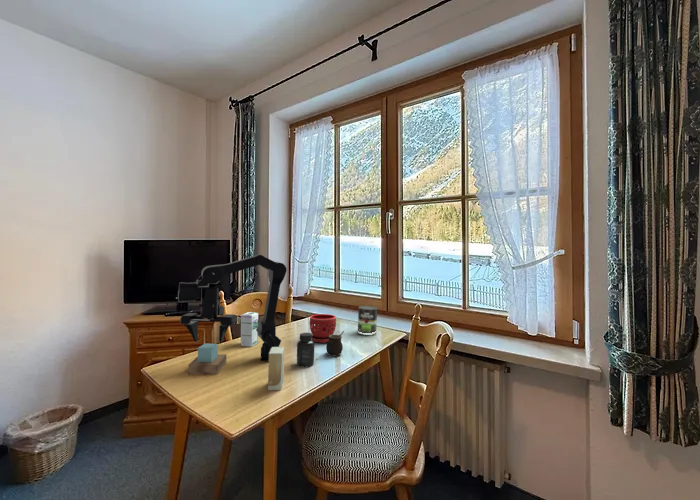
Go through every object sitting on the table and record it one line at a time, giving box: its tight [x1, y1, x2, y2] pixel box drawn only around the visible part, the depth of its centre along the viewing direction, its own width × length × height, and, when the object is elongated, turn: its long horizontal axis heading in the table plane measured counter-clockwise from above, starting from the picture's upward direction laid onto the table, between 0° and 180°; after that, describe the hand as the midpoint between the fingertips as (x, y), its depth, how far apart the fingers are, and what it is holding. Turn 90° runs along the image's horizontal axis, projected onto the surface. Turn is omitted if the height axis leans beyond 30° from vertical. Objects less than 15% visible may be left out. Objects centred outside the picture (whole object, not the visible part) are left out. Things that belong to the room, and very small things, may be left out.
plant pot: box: [309, 313, 337, 344], centre depth 151 cm, size 13×13×12 cm
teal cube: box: [197, 343, 219, 362], centre depth 113 cm, size 5×5×5 cm
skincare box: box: [267, 346, 285, 391], centre depth 101 cm, size 6×4×12 cm
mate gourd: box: [325, 330, 345, 357], centre depth 132 cm, size 7×8×10 cm
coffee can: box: [357, 305, 378, 333], centre depth 165 cm, size 10×10×14 cm
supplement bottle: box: [296, 332, 315, 368], centre depth 120 cm, size 7×7×12 cm
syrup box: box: [240, 311, 259, 348], centre depth 141 cm, size 6×6×14 cm
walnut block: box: [187, 353, 228, 376], centre depth 113 cm, size 10×10×4 cm
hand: (208, 342), depth 113 cm, fingers open, 9 cm apart
